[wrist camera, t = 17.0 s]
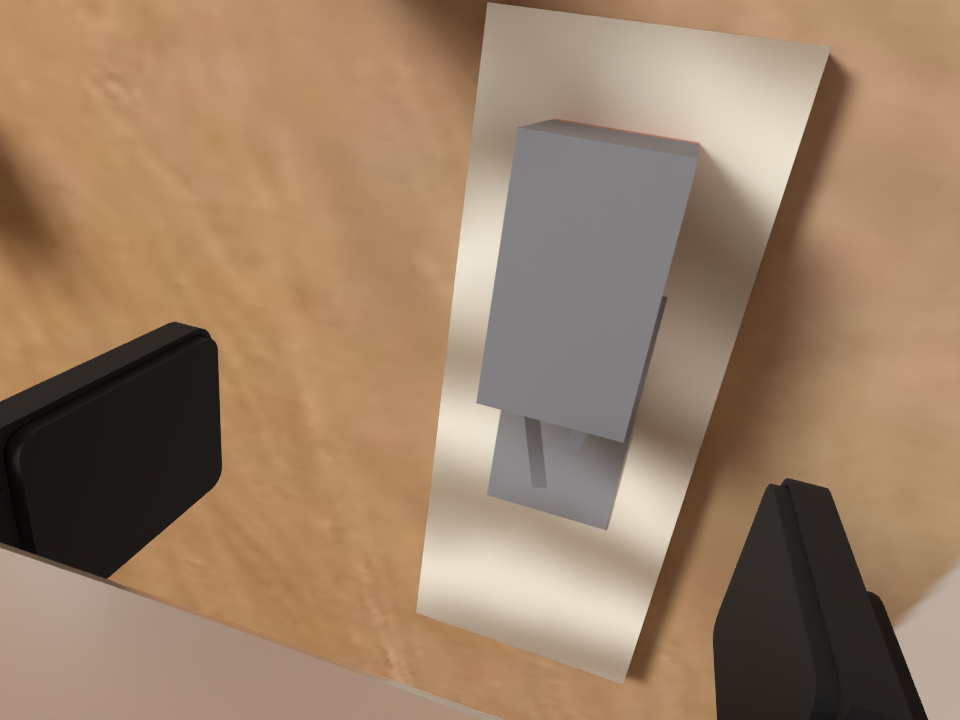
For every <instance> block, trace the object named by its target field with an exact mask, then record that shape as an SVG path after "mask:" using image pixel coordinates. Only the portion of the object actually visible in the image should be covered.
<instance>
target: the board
mask: <svg viewBox="0 0 960 720" xmlns="http://www.w3.org/2000/svg"><path fill="white" fill-rule="evenodd" d="M830 50H831V47H829V46H822V45H814V44H806V43H798V42H791V41H783V40H775V39H768V38H760V37H752V36H745V35H737V34H729V33H721V32H714V31H706V30H698V29H691V28H683V27H675V26H667V25H660V24H652V23H644V22H637V21H629V20H621V19H613V18H606V17H598V16H590V15H583V14H575V13H567V12H559V11H552V10H544V9H536V8H529V7H521V6H513V5H505V4H498V3H490V2H487V11H486V19H485V28H484V36H483V45H482V54H481V62H480V71H479V79H478V88H477V96H476V105H475V114H474V122H473V131H472V139H471V148H470V156H469V165H468V174H467V182H466V191H465V199H464V208H463V216H462V225H461V233H460V242H459V251H458V259H457V268H456V276H455V285H454V293H453V302H452V311H451V319H450V328H449V336H448V345H447V353H446V362H445V371H444V379H443V388H442V396H441V405H440V413H439V422H438V431H437V439H436V448H435V456H434V465H433V473H432V482H431V490H430V499H429V508H428V516H427V525H426V533H425V542H424V550H423V559H422V568H421V576H420V585H419V593H418V602H417V610H416V613H418V614H421V615H424V616H427V617H430V618H433V619H436V620H439V621H442V622H445V623H447V624H450V625H453V626H456V627H459V628H462V629H465V630H468V631H471V632H473V633H476V634H479V635H482V636H485V637H488V638H491V639H494V640H497V641H499V642H502V643H505V644H508V645H511V646H514V647H517V648H520V649H523V650H525V651H528V652H531V653H534V654H537V655H540V656H543V657H546V658H549V659H551V660H554V661H557V662H560V663H563V664H566V665H569V666H572V667H575V668H577V669H580V670H583V671H586V672H589V673H592V674H595V675H598V676H601V677H603V678H606V679H609V680H612V681H615V682H618V683H621V684H623V683H624V680H625V677H626V674H627V671H628V668H629V665H630V662H631V659H632V656H633V653H634V650H635V647H636V644H637V640H638V637H639V634H640V631H641V628H642V625H643V622H644V619H645V616H646V613H647V610H648V607H649V604H650V601H651V598H652V595H653V591H654V588H655V585H656V582H657V579H658V576H659V573H660V570H661V567H662V564H663V561H664V558H665V555H666V552H667V549H668V546H669V543H670V539H671V536H672V533H673V530H674V527H675V524H676V521H677V518H678V515H679V512H680V509H681V506H682V503H683V500H684V497H685V494H686V490H687V487H688V484H689V481H690V478H691V475H692V472H693V469H694V466H695V463H696V460H697V457H698V454H699V451H700V448H701V445H702V442H703V438H704V435H705V432H706V429H707V426H708V423H709V420H710V417H711V414H712V411H713V408H714V405H715V402H716V399H717V396H718V393H719V389H720V386H721V383H722V380H723V377H724V374H725V371H726V368H727V365H728V362H729V359H730V356H731V353H732V350H733V347H734V344H735V340H736V337H737V334H738V331H739V328H740V325H741V322H742V319H743V316H744V313H745V310H746V307H747V304H748V301H749V298H750V295H751V292H752V288H753V285H754V282H755V279H756V276H757V273H758V270H759V267H760V264H761V261H762V258H763V255H764V252H765V249H766V246H767V243H768V239H769V236H770V233H771V230H772V227H773V224H774V221H775V218H776V215H777V212H778V209H779V206H780V203H781V200H782V197H783V194H784V191H785V187H786V184H787V181H788V178H789V175H790V172H791V169H792V166H793V163H794V160H795V157H796V154H797V151H798V148H799V145H800V142H801V138H802V135H803V132H804V129H805V126H806V123H807V120H808V117H809V114H810V111H811V108H812V105H813V102H814V99H815V96H816V93H817V90H818V86H819V83H820V80H821V77H822V74H823V71H824V68H825V65H826V62H827V59H828V56H829V53H830ZM551 119H561V120H567V121H573V122H579V123H585V124H591V125H597V126H603V127H609V128H615V129H621V130H627V131H633V132H639V133H645V134H651V135H657V136H663V137H669V138H675V139H681V140H687V141H693V142H699V160H698V164H697V167H696V171H695V175H694V179H693V182H692V186H691V190H690V194H689V198H688V201H687V205H686V209H685V213H684V216H683V220H682V224H681V228H680V232H679V235H678V239H677V243H676V247H675V250H674V254H673V258H672V262H671V266H670V269H669V273H668V277H667V281H666V284H665V288H664V292H663V296H662V299H661V303H660V307H659V311H658V315H657V318H656V322H655V326H654V330H653V333H652V337H651V341H650V345H649V349H648V352H647V356H646V360H645V364H644V367H643V371H642V375H641V379H640V383H639V386H638V390H637V394H636V398H635V401H634V405H633V409H632V413H631V417H630V420H629V424H628V428H627V432H626V435H625V439H624V443H623V442H619V441H615V440H612V439H608V438H604V437H600V436H597V435H593V434H589V433H585V432H582V431H578V430H574V429H570V428H567V427H563V426H559V425H556V424H552V423H548V422H544V421H541V420H537V419H533V418H529V417H526V416H522V415H518V414H514V413H511V412H507V411H503V410H500V409H496V408H492V407H488V406H485V405H481V404H477V403H476V401H477V394H478V388H479V381H480V374H481V368H482V361H483V354H484V348H485V341H486V334H487V328H488V321H489V314H490V308H491V301H492V294H493V288H494V281H495V274H496V268H497V261H498V254H499V248H500V241H501V234H502V228H503V221H504V214H505V208H506V201H507V194H508V188H509V181H510V174H511V168H512V161H513V154H514V148H515V141H516V134H517V128H518V127H521V126H526V125H530V124H534V123H538V122H543V121H547V120H551Z"/></svg>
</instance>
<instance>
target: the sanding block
mask: <svg viewBox="0 0 960 720" xmlns="http://www.w3.org/2000/svg"><path fill="white" fill-rule="evenodd" d="M698 160H699V142H693V141H687V140H681V139H675V138H669V137H663V136H657V135H651V134H645V133H639V132H633V131H627V130H621V129H615V128H609V127H603V126H597V125H591V124H585V123H579V122H573V121H567V120H561V119H551V120H547V121H543V122H538V123H534V124H530V125H526V126H521V127H518V128H517V134H516V141H515V148H514V154H513V161H512V168H511V174H510V181H509V188H508V194H507V201H506V208H505V214H504V221H503V228H502V234H501V241H500V248H499V254H498V261H497V268H496V274H495V281H494V288H493V294H492V301H491V308H490V314H489V321H488V328H487V334H486V341H485V348H484V354H483V361H482V368H481V374H480V381H479V388H478V394H477V401H476V403H477V404H481V405H485V406H488V407H492V408H496V409H500V410H503V411H507V412H511V413H514V414H518V415H522V416H526V417H529V418H533V419H537V420H541V421H544V422H548V423H552V424H556V425H559V426H563V427H567V428H570V429H574V430H578V431H582V432H585V433H589V434H593V435H597V436H600V437H604V438H608V439H612V440H615V441H619V442H623V443H624V439H625V435H626V432H627V428H628V424H629V420H630V417H631V413H632V409H633V405H634V401H635V398H636V394H637V390H638V386H639V383H640V379H641V375H642V371H643V367H644V364H645V360H646V356H647V352H648V349H649V345H650V341H651V337H652V333H653V330H654V326H655V322H656V318H657V315H658V311H659V307H660V303H661V299H662V296H663V292H664V288H665V284H666V281H667V277H668V273H669V269H670V266H671V262H672V258H673V254H674V250H675V247H676V243H677V239H678V235H679V232H680V228H681V224H682V220H683V216H684V213H685V209H686V205H687V201H688V198H689V194H690V190H691V186H692V182H693V179H694V175H695V171H696V167H697V164H698Z"/></svg>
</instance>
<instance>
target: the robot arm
mask: <svg viewBox="0 0 960 720" xmlns="http://www.w3.org/2000/svg"><path fill="white" fill-rule="evenodd" d="M221 471H222V454H221V427H220V399H219V371H218V349H217V345H216V342H215V341H214V340H212V339H211V336H210V334H209V332H207V331H206V330H205V329H201V328H197V327H193V326H190V325H186V324H182V323H177V322H172V323H168V324H166V325H164V326H162V327H160V328H158V329H156V330H153V331H151V332H149V333H147V334H145V335H143V336H140V337H138V338H136V339H134V340H132V341H130V342H128V343H125V344H123V345H121V346H119V347H117V348H115V349H112V350H110V351H108V352H106V353H104V354H102V355H100V356H97V357H95V358H93V359H91V360H89V361H87V362H85V363H82V364H80V365H78V366H76V367H74V368H72V369H69V370H67V371H65V372H63V373H61V374H59V375H57V376H54V377H52V378H50V379H48V380H46V381H44V382H41V383H39V384H37V385H35V386H33V387H31V388H29V389H26V390H24V391H22V392H20V393H18V394H16V395H14V396H11V397H9V398H7V399H5V400H3V401H1V402H0V720H504V719H501V718H498V717H495V716H492V715H490V714H487V713H484V712H481V711H478V710H476V709H473V708H470V707H467V706H465V705H462V704H459V703H456V702H453V701H451V700H448V699H445V698H442V697H439V696H437V695H434V694H431V693H428V692H425V691H423V690H420V689H417V688H414V687H412V686H409V685H406V684H403V683H400V682H398V681H395V680H392V679H389V678H386V677H384V676H381V675H378V674H375V673H372V672H370V671H367V670H364V669H361V668H359V667H356V666H353V665H350V664H347V663H344V662H342V661H339V660H336V659H333V658H330V657H327V656H325V655H322V654H319V653H316V652H313V651H310V650H308V649H305V648H302V647H299V646H296V645H293V644H291V643H288V642H285V641H282V640H279V639H276V638H274V637H271V636H268V635H265V634H262V633H259V632H257V631H254V630H251V629H248V628H245V627H242V626H240V625H237V624H234V623H231V622H228V621H225V620H222V619H220V618H217V617H214V616H211V615H208V614H205V613H202V612H200V611H197V610H194V609H191V608H188V607H185V606H183V605H180V604H177V603H174V602H171V601H168V600H165V599H163V598H160V597H157V596H154V595H151V594H148V593H145V592H142V591H139V590H137V589H134V588H131V587H128V586H125V585H122V584H119V583H116V582H113V581H110V580H108V579H107V578H108V577H110V576H111V575H112V574H113V573H114V572H115V571H117V570H118V569H119V568H120V567H121V566H122V565H124V564H125V563H126V562H127V561H128V560H129V559H131V558H132V557H133V556H134V555H135V554H136V553H138V552H139V551H140V550H141V549H142V548H143V547H145V546H146V545H147V544H148V543H149V542H150V541H152V540H153V539H154V538H155V537H156V536H157V535H159V534H160V533H161V532H162V531H163V530H164V529H166V528H167V527H168V526H169V525H170V524H171V523H173V522H174V521H175V520H176V519H177V518H178V517H180V516H181V515H182V514H183V513H184V512H185V511H186V510H188V509H189V508H190V507H191V506H192V505H193V504H195V503H196V502H197V501H198V500H199V499H200V498H202V497H203V496H204V495H205V494H206V493H207V492H209V491H210V490H211V489H212V488H213V487H214V486H215V485H216V483H217V482H218V480H219V478H220V475H221ZM713 651H714V669H715V688H716V706H717V720H928V718H927V716H926V713H925V711H924V708H923V705H922V703H921V700H920V697H919V695H918V692H917V690H916V687H915V685H914V682H913V680H912V677H911V674H910V672H909V669H908V667H907V664H906V661H905V659H904V656H903V654H902V651H901V649H900V646H899V643H898V641H897V638H896V635H895V633H894V630H893V628H892V625H891V622H890V620H889V617H888V615H887V612H886V610H885V607H884V605H883V603H882V601H881V599H880V598H879V596H877V595H876V594H874V593H872V592H869V591H866V588H865V586H864V583H863V580H862V577H861V575H860V572H859V569H858V566H857V564H856V561H855V558H854V555H853V553H852V550H851V547H850V544H849V542H848V539H847V536H846V533H845V531H844V528H843V525H842V522H841V520H840V517H839V514H838V511H837V509H836V506H835V503H834V500H833V498H832V495H831V492H830V491H829V489H828V488H825V487H821V486H817V485H813V484H809V483H805V482H801V481H797V480H793V479H789V478H787V479H785V480H784V481H783V483H782V484H781V486H778V485H774V484H769V485H768V487H767V488H766V490H765V492H764V495H763V498H762V500H761V503H760V505H759V508H758V511H757V513H756V516H755V519H754V521H753V524H752V526H751V529H750V532H749V534H748V537H747V539H746V542H745V545H744V547H743V550H742V552H741V555H740V558H739V560H738V563H737V566H736V568H735V571H734V573H733V576H732V579H731V581H730V584H729V586H728V589H727V592H726V594H725V597H724V599H723V602H722V605H721V607H720V610H719V613H718V615H717V618H716V622H715V626H714V633H713Z"/></svg>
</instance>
